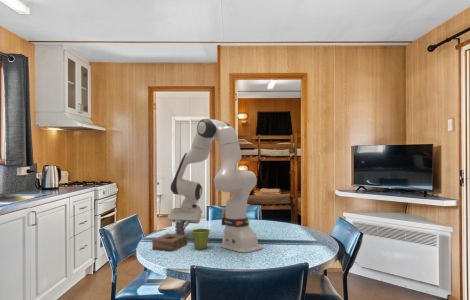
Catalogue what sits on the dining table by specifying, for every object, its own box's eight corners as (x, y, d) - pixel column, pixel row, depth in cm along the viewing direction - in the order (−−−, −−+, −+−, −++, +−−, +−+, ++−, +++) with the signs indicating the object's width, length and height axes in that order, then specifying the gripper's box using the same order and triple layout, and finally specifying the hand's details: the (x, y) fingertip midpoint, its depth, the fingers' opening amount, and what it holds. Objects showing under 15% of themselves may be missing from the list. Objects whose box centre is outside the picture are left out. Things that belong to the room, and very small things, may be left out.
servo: (180, 234, 189) (180, 219, 189) (185, 235, 188) (185, 219, 188) (175, 237, 183) (175, 221, 183) (179, 237, 182) (179, 221, 182)
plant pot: (192, 250, 159) (192, 233, 160) (190, 245, 168) (190, 229, 169) (211, 249, 162) (211, 231, 162) (208, 244, 171) (208, 228, 171)
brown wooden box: (167, 242, 176) (167, 233, 176) (186, 244, 172) (186, 235, 172) (152, 249, 163) (152, 240, 163) (173, 251, 159) (173, 241, 159)
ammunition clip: (222, 225, 219) (222, 207, 219) (221, 224, 221) (221, 207, 221) (237, 224, 222) (237, 206, 223) (236, 223, 224) (236, 206, 224)
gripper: (170, 204, 196) (161, 224, 187) (201, 205, 189) (193, 226, 180) (174, 211, 200) (166, 230, 191) (204, 212, 193) (197, 232, 184)
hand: (179, 228), depth 185 cm, fingers closed on servo, 3 cm apart
